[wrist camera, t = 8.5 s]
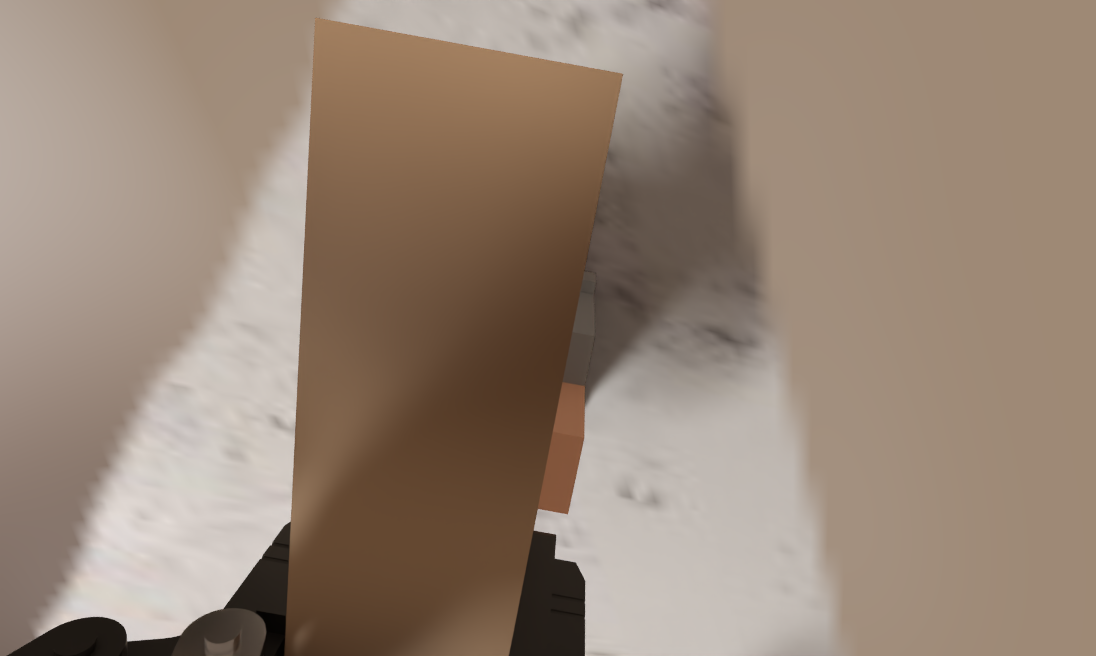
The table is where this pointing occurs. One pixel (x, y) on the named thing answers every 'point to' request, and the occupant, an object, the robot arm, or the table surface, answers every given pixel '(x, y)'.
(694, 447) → the table surface
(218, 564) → the table surface
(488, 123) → the brown wooden beam
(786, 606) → the table surface
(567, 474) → the balance stand
